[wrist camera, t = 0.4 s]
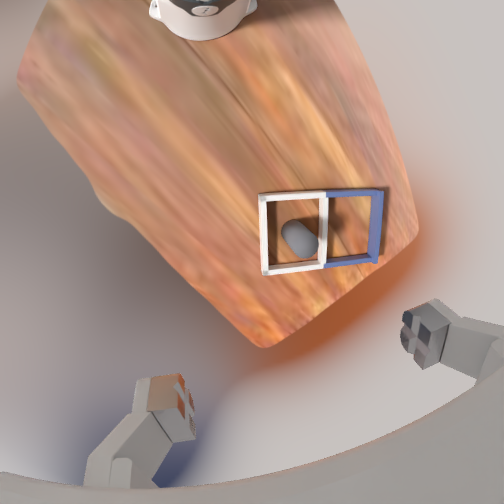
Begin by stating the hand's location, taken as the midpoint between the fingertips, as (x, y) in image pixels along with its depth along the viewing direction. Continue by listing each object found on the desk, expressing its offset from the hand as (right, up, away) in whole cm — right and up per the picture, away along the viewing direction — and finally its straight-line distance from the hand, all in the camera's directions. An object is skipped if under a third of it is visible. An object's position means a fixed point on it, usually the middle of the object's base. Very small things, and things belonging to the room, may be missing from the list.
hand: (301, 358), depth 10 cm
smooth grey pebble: (+6, +7, +47) cm, 48 cm away
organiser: (+12, +8, +48) cm, 50 cm away
